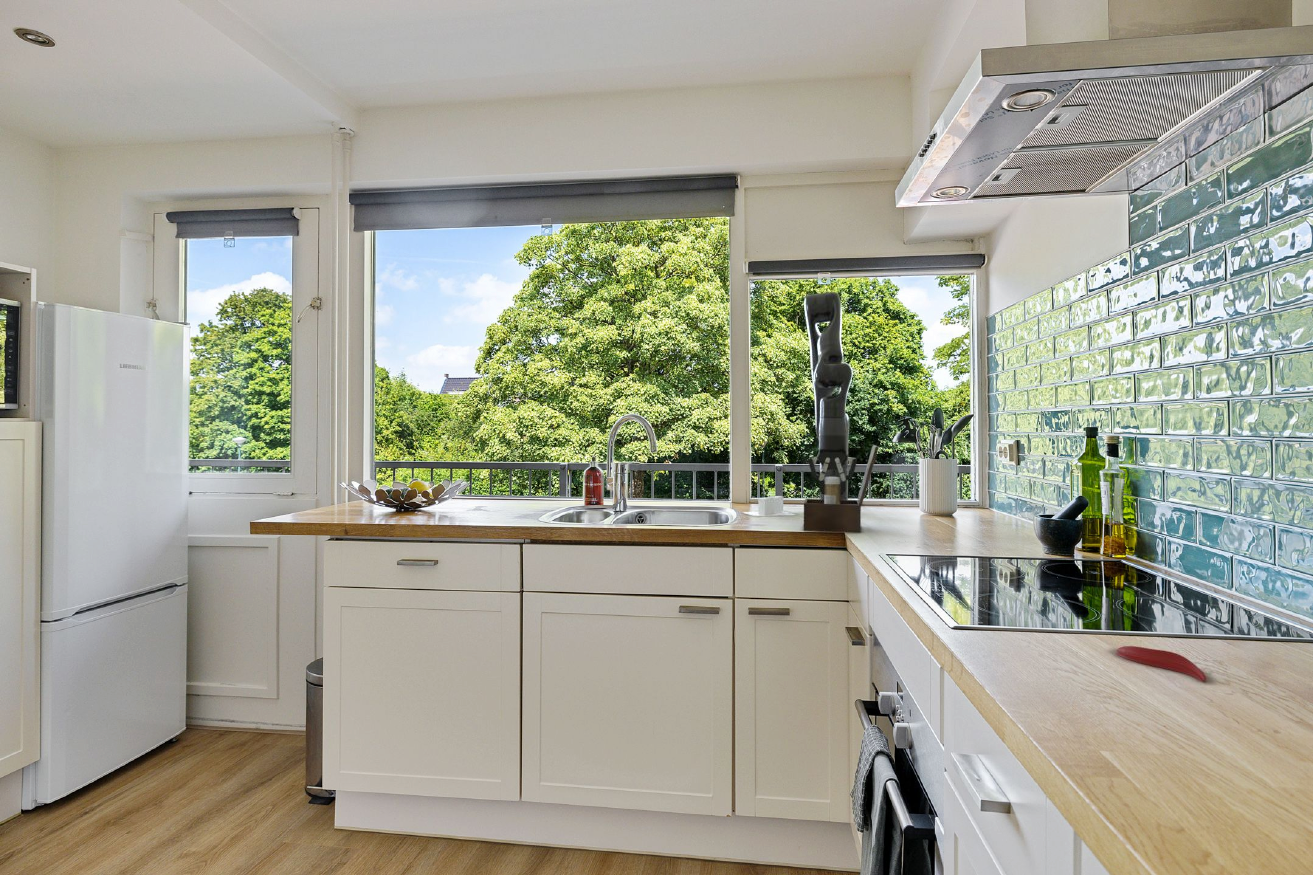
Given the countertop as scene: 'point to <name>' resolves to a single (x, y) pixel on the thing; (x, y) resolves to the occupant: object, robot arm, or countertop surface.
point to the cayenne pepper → (1161, 660)
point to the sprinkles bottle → (832, 490)
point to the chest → (832, 516)
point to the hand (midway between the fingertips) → (832, 493)
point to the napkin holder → (770, 507)
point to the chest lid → (867, 473)
